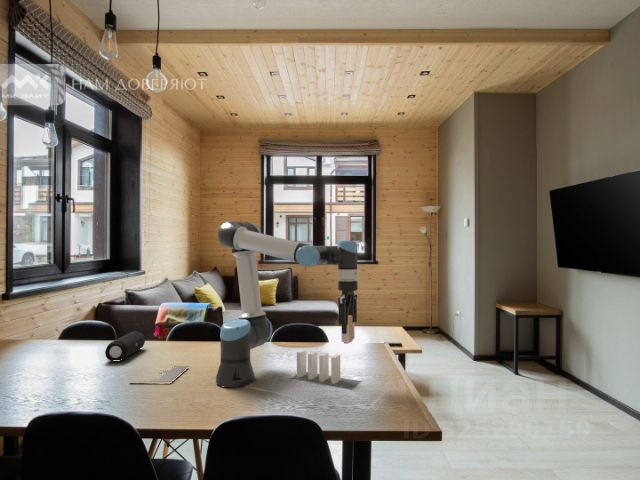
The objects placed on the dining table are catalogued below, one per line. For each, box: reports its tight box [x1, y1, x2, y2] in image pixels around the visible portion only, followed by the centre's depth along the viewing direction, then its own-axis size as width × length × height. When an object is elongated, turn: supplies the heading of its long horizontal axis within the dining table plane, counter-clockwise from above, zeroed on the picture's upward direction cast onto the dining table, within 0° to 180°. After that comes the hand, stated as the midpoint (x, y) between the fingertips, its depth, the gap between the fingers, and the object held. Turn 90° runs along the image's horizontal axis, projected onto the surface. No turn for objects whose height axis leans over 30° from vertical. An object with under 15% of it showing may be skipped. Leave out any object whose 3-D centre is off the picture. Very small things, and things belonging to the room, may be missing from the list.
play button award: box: [144, 365, 190, 382], centre depth 160 cm, size 16×2×20 cm
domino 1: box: [296, 349, 307, 378], centre depth 159 cm, size 2×5×10 cm, turn 152°
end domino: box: [343, 315, 354, 345], centre depth 149 cm, size 2×5×10 cm, turn 152°
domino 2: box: [307, 350, 318, 380], centre depth 156 cm, size 2×5×10 cm, turn 152°
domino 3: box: [318, 352, 330, 382], centre depth 154 cm, size 2×5×10 cm, turn 152°
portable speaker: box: [104, 330, 146, 361], centre depth 190 cm, size 26×10×10 cm, turn 3°
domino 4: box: [330, 353, 341, 384], centre depth 151 cm, size 2×5×10 cm, turn 152°
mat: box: [290, 371, 362, 391], centre depth 153 cm, size 27×10×1 cm, turn 62°
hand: (348, 340), depth 149 cm, fingers closed on end domino, 5 cm apart
